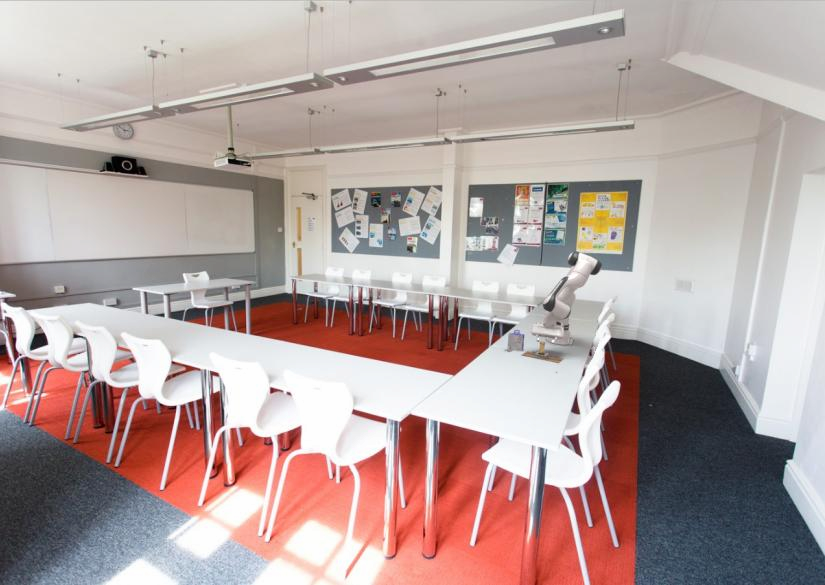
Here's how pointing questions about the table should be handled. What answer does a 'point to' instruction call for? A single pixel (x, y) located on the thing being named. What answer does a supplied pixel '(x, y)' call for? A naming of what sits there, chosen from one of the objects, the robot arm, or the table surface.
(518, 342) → the ink cartridge box
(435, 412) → the table surface
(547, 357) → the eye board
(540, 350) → the brass copper-topped peg
